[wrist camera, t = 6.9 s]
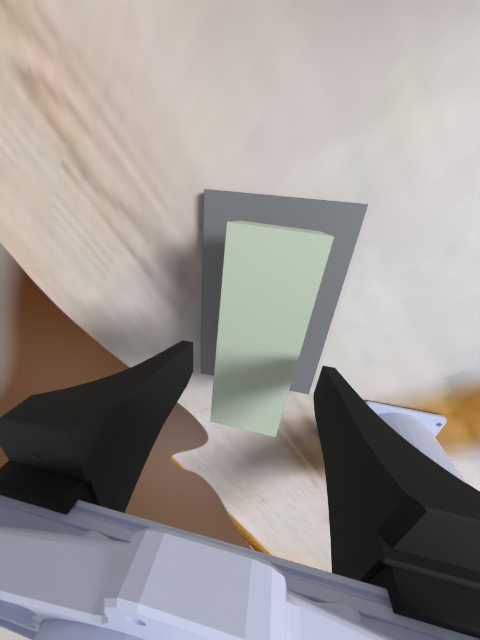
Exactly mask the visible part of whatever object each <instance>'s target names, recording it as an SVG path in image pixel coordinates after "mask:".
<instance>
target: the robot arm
mask: <svg viewBox="0 0 480 640" xmlns="http://www.w3.org/2000/svg"><path fill="white" fill-rule="evenodd" d="M192 372H193V342H188V341H181V342H179V343H177V344H175V345H174V346H172V347H170V348H168V349H167V350H165V351H163V352H161V353H159V354H158V355H156V356H154V357H152V358H150V359H148V360H146V361H144V362H142V363H140V364H138V365H136V366H134V367H131V368H129V369H127V370H124V371H122V372H119V373H117V374H114V375H111V376H108V377H105V378H102V379H99V380H96V381H93V382H89V383H86V384H82V385H78V386H74V387H70V388H67V389H62V390H57V391H52V392H47V393H42V394H37V395H31V396H30V397H28V398H27V399H26V400H24V401H23V402H22V403H20V404H19V405H17V406H16V407H14V408H13V409H12V410H10V411H9V412H7V413H6V414H4V415H3V416H2V417H0V446H1V448H2V449H3V451H4V453H5V454H6V456H7V457H8V459H9V461H8V462H7V463H6V464H5V465H4V466H2V467H1V468H0V626H1V627H3V628H6V629H8V630H10V631H13V632H15V633H17V634H20V635H22V636H24V637H27V638H29V639H31V640H480V491H478V490H476V489H475V488H473V487H472V486H470V485H468V484H467V483H466V482H465V480H464V479H463V478H462V476H461V475H460V473H459V472H458V470H457V469H456V467H455V466H454V464H453V463H452V462H451V460H450V459H449V457H448V456H447V454H446V453H445V451H444V450H443V449H442V447H441V446H440V444H439V443H438V441H437V440H436V438H435V437H436V435H437V434H438V433H439V431H440V430H441V429H442V427H443V426H444V425H445V423H446V422H447V419H446V418H445V417H444V416H442V415H437V414H432V413H427V412H422V411H417V410H412V409H407V408H401V407H396V406H391V405H386V404H381V403H376V402H371V401H367V402H364V400H363V399H362V398H361V397H360V396H359V395H358V394H357V393H356V392H355V391H354V389H353V388H352V387H351V386H350V385H349V384H348V383H347V381H346V380H345V379H344V378H343V377H342V375H341V374H340V373H339V372H338V371H337V370H336V369H335V368H332V367H327V366H323V367H322V370H321V373H320V376H319V379H318V382H317V385H316V389H315V392H314V411H315V417H316V422H317V428H318V433H319V437H320V442H321V447H322V452H323V458H324V464H325V473H326V483H327V495H328V507H329V521H330V537H331V558H332V573H330V572H326V571H323V570H319V569H316V568H312V567H309V566H306V565H302V564H299V563H295V562H292V561H288V560H285V559H281V558H278V557H274V556H271V555H267V554H264V553H261V552H257V551H254V550H250V549H247V548H243V547H240V546H236V545H233V544H229V543H225V542H222V541H219V540H216V539H212V538H208V537H205V536H202V535H198V534H195V533H191V532H188V531H184V530H181V529H177V528H174V527H171V526H167V525H164V524H160V523H157V522H153V521H150V520H146V519H143V518H139V517H136V516H132V515H129V514H125V510H126V508H127V505H128V503H129V500H130V498H131V495H132V493H133V490H134V488H135V485H136V483H137V481H138V478H139V476H140V474H141V472H142V469H143V467H144V465H145V462H146V460H147V458H148V456H149V454H150V451H151V449H152V447H153V445H154V443H155V441H156V439H157V437H158V434H159V432H160V430H161V428H162V426H163V425H164V423H165V421H166V419H167V418H168V416H169V414H170V412H171V411H172V409H173V408H174V406H175V404H176V403H177V401H178V399H179V398H180V396H181V394H182V393H183V391H184V389H185V388H186V386H187V384H188V382H189V379H190V377H191V375H192Z"/></svg>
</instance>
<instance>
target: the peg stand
mask: <svg viewBox="0 0 480 640" xmlns="http://www.w3.org/2000/svg"><path fill="white" fill-rule="evenodd" d="M367 206H368V204H359V203H348V202H337V201H327V200H316V199H305V198H294V197H284V196H273V195H262V194H252V193H241V192H230V191H219V190H209V189H204V226H203V283H202V339H201V373H203V374H208V375H213V376H214V372H215V360H216V348H217V336H218V324H219V312H220V300H221V288H222V276H223V264H224V253H225V241H226V229H227V222H231V221H248V222H255V223H262V224H270V225H277V226H284V227H291V228H299V229H306V230H313V231H321V232H323V233H326V234H328V235H331V236H334V239H333V242H332V246H331V249H330V253H329V256H328V259H327V263H326V266H325V270H324V273H323V277H322V280H321V283H320V287H319V290H318V294H317V297H316V300H315V304H314V307H313V311H312V314H311V317H310V321H309V324H308V328H307V331H306V335H305V338H304V341H303V345H302V348H301V352H300V355H299V358H298V362H297V365H296V369H295V372H294V375H293V379H292V382H291V386H290V389H289V390H290V391H295V392H300V393H305V394H309V391H310V388H311V385H312V382H313V378H314V375H315V372H316V369H317V366H318V363H319V359H320V356H321V353H322V350H323V347H324V343H325V340H326V337H327V334H328V331H329V327H330V324H331V321H332V318H333V315H334V311H335V308H336V305H337V302H338V299H339V295H340V292H341V289H342V286H343V283H344V280H345V276H346V273H347V270H348V267H349V264H350V260H351V257H352V254H353V251H354V248H355V244H356V241H357V238H358V235H359V232H360V228H361V225H362V222H363V219H364V216H365V212H366V209H367Z"/></svg>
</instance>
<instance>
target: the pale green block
mask: <svg viewBox="0 0 480 640" xmlns="http://www.w3.org/2000/svg"><path fill="white" fill-rule="evenodd" d="M333 239H334V236H331V235H328V234H326V233H323V232H321V231H313V230H306V229H299V228H291V227H284V226H277V225H270V224H262V223H255V222H248V221H231V222H227V229H226V241H225V253H224V264H223V276H222V288H221V300H220V312H219V324H218V336H217V348H216V360H215V372H214V383H213V395H212V407H211V419H210V421H211V422H215V423H219V424H223V425H227V426H231V427H236V428H240V429H244V430H248V431H252V432H256V433H260V434H265V435H269V436H273V437H276V433H277V430H278V427H279V423H280V420H281V416H282V413H283V410H284V406H285V403H286V399H287V396H288V393H289V389H290V386H291V382H292V379H293V375H294V372H295V369H296V365H297V362H298V358H299V355H300V352H301V348H302V345H303V341H304V338H305V335H306V331H307V328H308V324H309V321H310V317H311V314H312V311H313V307H314V304H315V300H316V297H317V294H318V290H319V287H320V283H321V280H322V277H323V273H324V270H325V266H326V263H327V259H328V256H329V253H330V249H331V246H332V242H333Z"/></svg>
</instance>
